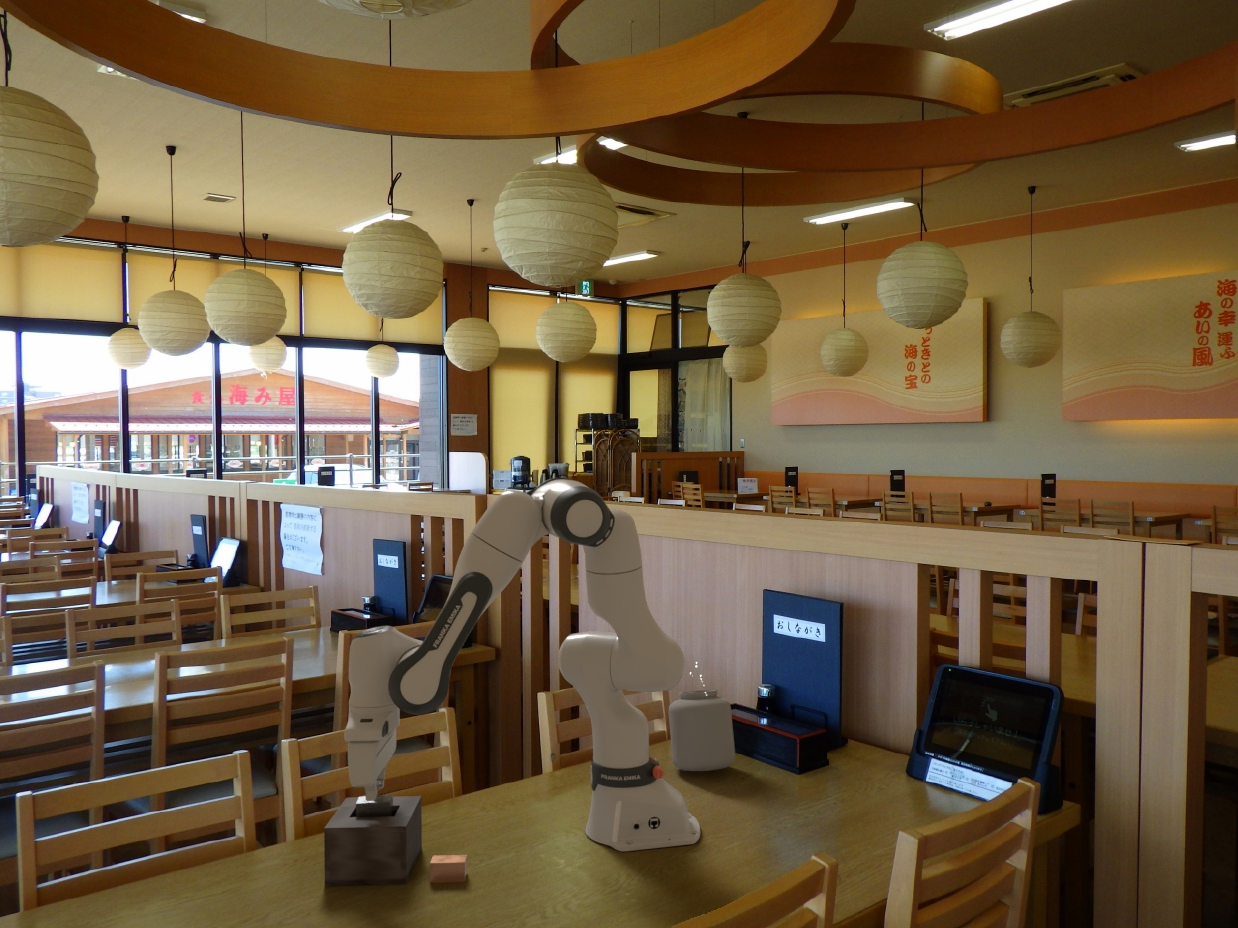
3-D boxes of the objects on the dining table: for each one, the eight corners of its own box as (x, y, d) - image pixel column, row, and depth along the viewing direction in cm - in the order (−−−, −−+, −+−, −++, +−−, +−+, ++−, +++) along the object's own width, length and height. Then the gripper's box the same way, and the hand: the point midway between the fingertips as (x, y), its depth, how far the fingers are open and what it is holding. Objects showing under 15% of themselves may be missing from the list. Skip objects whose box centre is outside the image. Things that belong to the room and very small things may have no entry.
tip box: (421, 848, 167) (421, 795, 167) (406, 883, 153) (406, 826, 153) (346, 850, 166) (346, 797, 166) (324, 885, 152) (324, 827, 152)
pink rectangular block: (467, 874, 157) (466, 854, 157) (464, 882, 154) (464, 862, 154) (433, 875, 156) (432, 855, 156) (430, 883, 153) (429, 863, 153)
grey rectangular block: (393, 813, 161) (392, 794, 161) (390, 820, 158) (389, 801, 158) (359, 815, 161) (358, 796, 161) (356, 822, 158) (355, 803, 158)
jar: (657, 759, 217) (656, 657, 217) (713, 753, 221) (712, 653, 221) (686, 785, 199) (685, 674, 199) (745, 778, 203) (745, 669, 203)
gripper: (371, 702, 170) (371, 774, 170) (341, 734, 149) (341, 816, 149) (404, 701, 170) (404, 773, 170) (378, 733, 150) (379, 815, 150)
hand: (375, 793), depth 160 cm, fingers open, 4 cm apart
